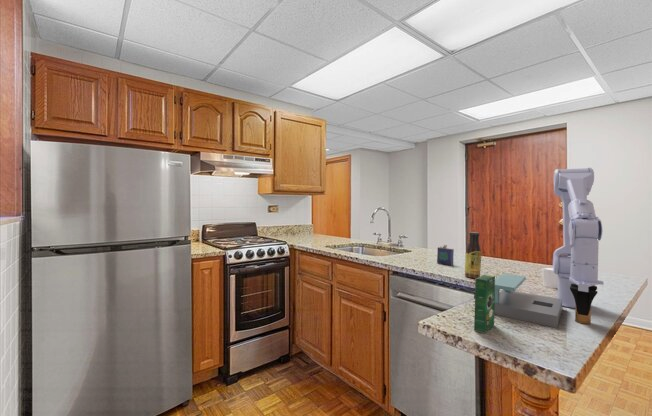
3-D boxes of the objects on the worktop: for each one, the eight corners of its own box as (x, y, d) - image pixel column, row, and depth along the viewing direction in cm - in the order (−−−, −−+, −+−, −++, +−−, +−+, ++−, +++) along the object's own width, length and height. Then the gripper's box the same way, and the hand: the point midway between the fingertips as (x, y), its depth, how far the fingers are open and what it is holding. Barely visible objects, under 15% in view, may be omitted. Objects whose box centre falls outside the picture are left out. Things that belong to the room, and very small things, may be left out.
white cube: (539, 286, 122) (540, 268, 122) (542, 283, 127) (543, 266, 127) (561, 289, 117) (561, 271, 117) (563, 286, 122) (564, 269, 122)
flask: (454, 265, 163) (454, 245, 163) (451, 266, 162) (451, 245, 161) (438, 262, 171) (438, 243, 171) (435, 263, 169) (435, 244, 169)
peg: (575, 318, 86) (576, 290, 86) (590, 321, 84) (591, 292, 84) (575, 321, 83) (575, 292, 83) (590, 325, 81) (591, 294, 81)
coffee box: (483, 322, 82) (484, 273, 82) (495, 325, 80) (495, 274, 80) (473, 330, 77) (474, 277, 76) (485, 334, 75) (486, 280, 75)
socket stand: (503, 298, 105) (503, 273, 105) (562, 308, 94) (562, 281, 94) (488, 312, 90) (489, 283, 90) (556, 327, 79) (557, 294, 79)
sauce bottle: (471, 279, 132) (472, 233, 132) (461, 275, 139) (462, 231, 138) (484, 278, 134) (485, 232, 134) (473, 275, 140) (474, 231, 140)
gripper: (604, 269, 75) (603, 324, 75) (603, 261, 86) (601, 309, 86) (568, 265, 80) (567, 317, 80) (570, 258, 91) (569, 304, 91)
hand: (582, 312), depth 84 cm, fingers closed on peg, 3 cm apart
